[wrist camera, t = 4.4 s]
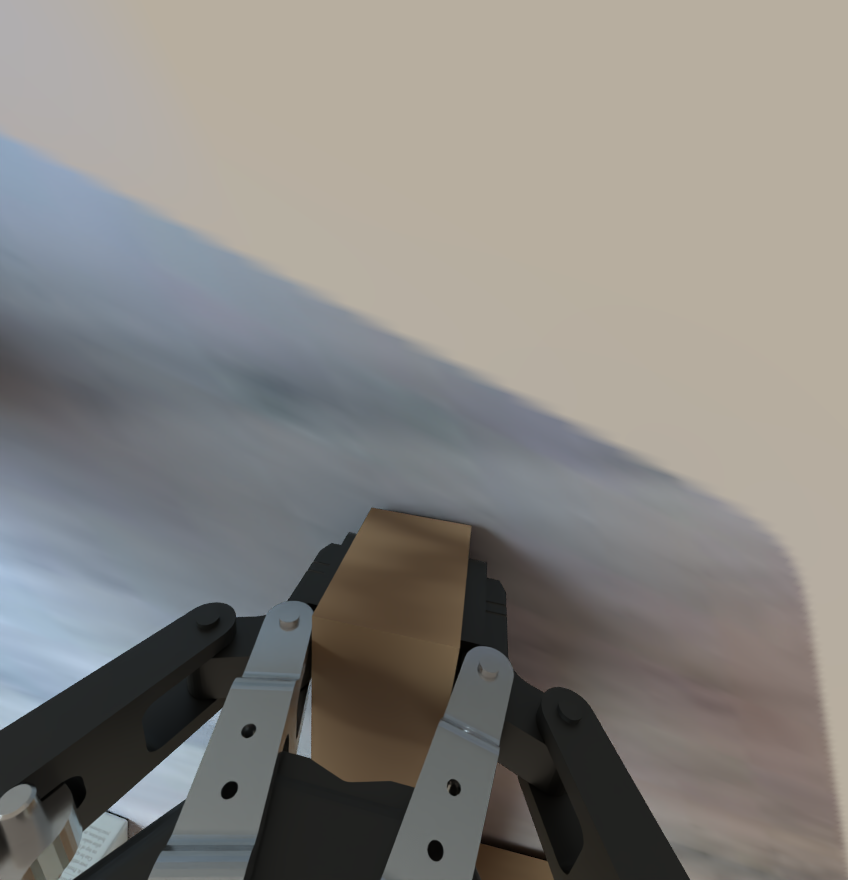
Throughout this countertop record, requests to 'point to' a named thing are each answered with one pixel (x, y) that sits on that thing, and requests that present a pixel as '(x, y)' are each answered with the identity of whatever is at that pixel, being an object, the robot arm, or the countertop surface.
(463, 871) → the robot arm
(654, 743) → the countertop surface
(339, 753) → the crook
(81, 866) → the skincare box
